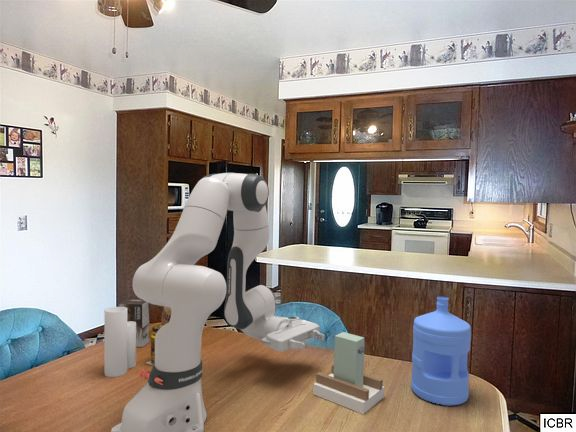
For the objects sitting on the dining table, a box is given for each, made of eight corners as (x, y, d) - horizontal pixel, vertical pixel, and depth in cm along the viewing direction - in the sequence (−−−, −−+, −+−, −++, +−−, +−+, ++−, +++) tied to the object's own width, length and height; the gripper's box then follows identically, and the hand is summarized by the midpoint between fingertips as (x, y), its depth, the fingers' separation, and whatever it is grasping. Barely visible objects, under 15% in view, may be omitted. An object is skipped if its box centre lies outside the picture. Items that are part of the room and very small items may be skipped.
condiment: (145, 363, 133) (145, 328, 132) (161, 354, 141) (161, 320, 140) (163, 367, 130) (163, 331, 130) (178, 357, 138) (179, 323, 138)
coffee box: (150, 341, 153) (150, 299, 153) (142, 347, 147) (142, 304, 146) (127, 340, 154) (127, 298, 154) (118, 346, 148) (118, 302, 147)
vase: (120, 377, 122) (121, 313, 121) (98, 376, 123) (98, 311, 122) (138, 362, 133) (138, 303, 133) (118, 361, 134) (118, 302, 133)
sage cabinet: (357, 393, 109) (359, 342, 109) (333, 384, 114) (334, 335, 114) (365, 387, 113) (367, 338, 112) (341, 378, 118) (343, 331, 117)
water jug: (400, 383, 122) (403, 292, 121) (445, 378, 126) (449, 290, 125) (431, 409, 107) (435, 306, 106) (481, 403, 111) (485, 303, 110)
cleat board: (363, 414, 104) (364, 393, 104) (313, 394, 114) (313, 375, 114) (384, 397, 114) (384, 378, 113) (336, 380, 124) (336, 362, 123)
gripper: (257, 329, 122) (293, 340, 113) (298, 315, 138) (332, 323, 129) (257, 350, 122) (292, 362, 113) (298, 333, 138) (332, 343, 129)
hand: (314, 341), depth 121 cm, fingers open, 8 cm apart
